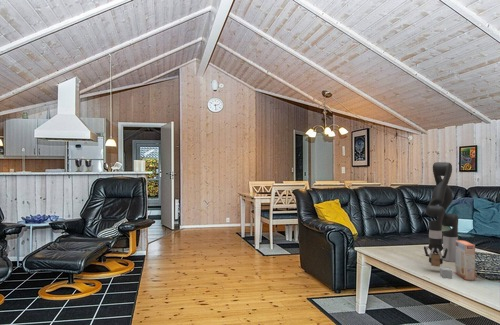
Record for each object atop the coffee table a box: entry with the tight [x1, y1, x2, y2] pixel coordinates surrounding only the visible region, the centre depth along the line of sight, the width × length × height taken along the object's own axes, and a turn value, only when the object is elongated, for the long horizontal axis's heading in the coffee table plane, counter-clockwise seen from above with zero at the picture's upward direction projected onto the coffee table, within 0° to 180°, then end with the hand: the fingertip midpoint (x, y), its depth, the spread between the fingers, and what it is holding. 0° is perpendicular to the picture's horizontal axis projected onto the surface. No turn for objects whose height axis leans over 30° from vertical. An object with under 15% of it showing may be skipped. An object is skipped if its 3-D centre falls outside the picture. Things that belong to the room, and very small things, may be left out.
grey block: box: [440, 267, 453, 280], centre depth 215 cm, size 5×5×5 cm
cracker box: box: [455, 239, 476, 281], centre depth 215 cm, size 14×6×21 cm, turn 170°
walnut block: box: [430, 253, 441, 268], centre depth 227 cm, size 5×5×7 cm
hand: (435, 263), depth 227 cm, fingers closed on walnut block, 5 cm apart
